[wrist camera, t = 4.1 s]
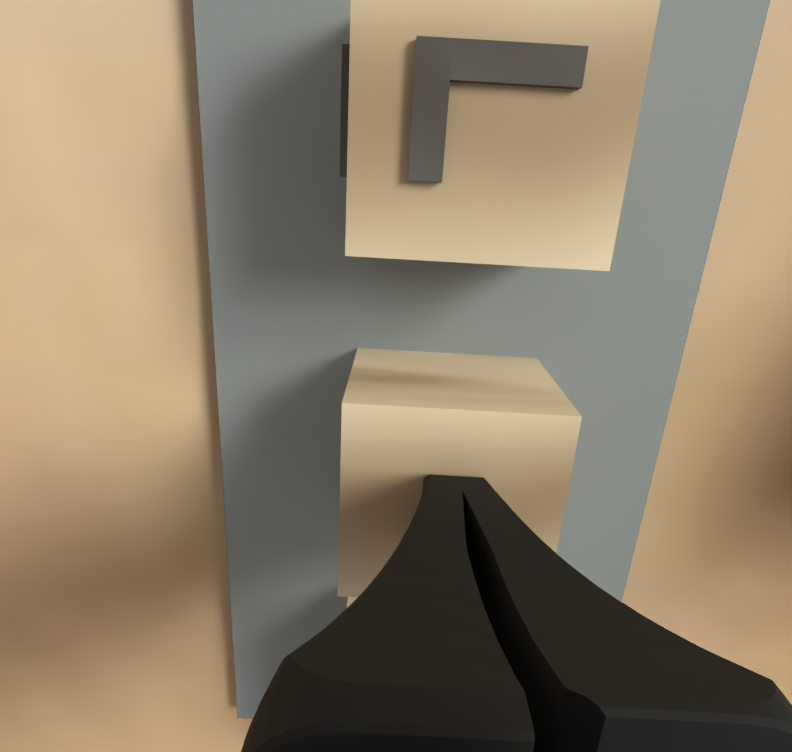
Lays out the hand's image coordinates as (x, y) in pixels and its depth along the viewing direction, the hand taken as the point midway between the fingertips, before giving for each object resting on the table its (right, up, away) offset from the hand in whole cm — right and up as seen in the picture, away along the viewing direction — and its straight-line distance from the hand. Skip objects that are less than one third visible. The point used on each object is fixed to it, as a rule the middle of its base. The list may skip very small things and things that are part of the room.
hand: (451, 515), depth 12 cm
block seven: (0, +9, +1) cm, 9 cm away
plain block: (0, +1, +4) cm, 4 cm away
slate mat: (0, +2, +4) cm, 5 cm away
